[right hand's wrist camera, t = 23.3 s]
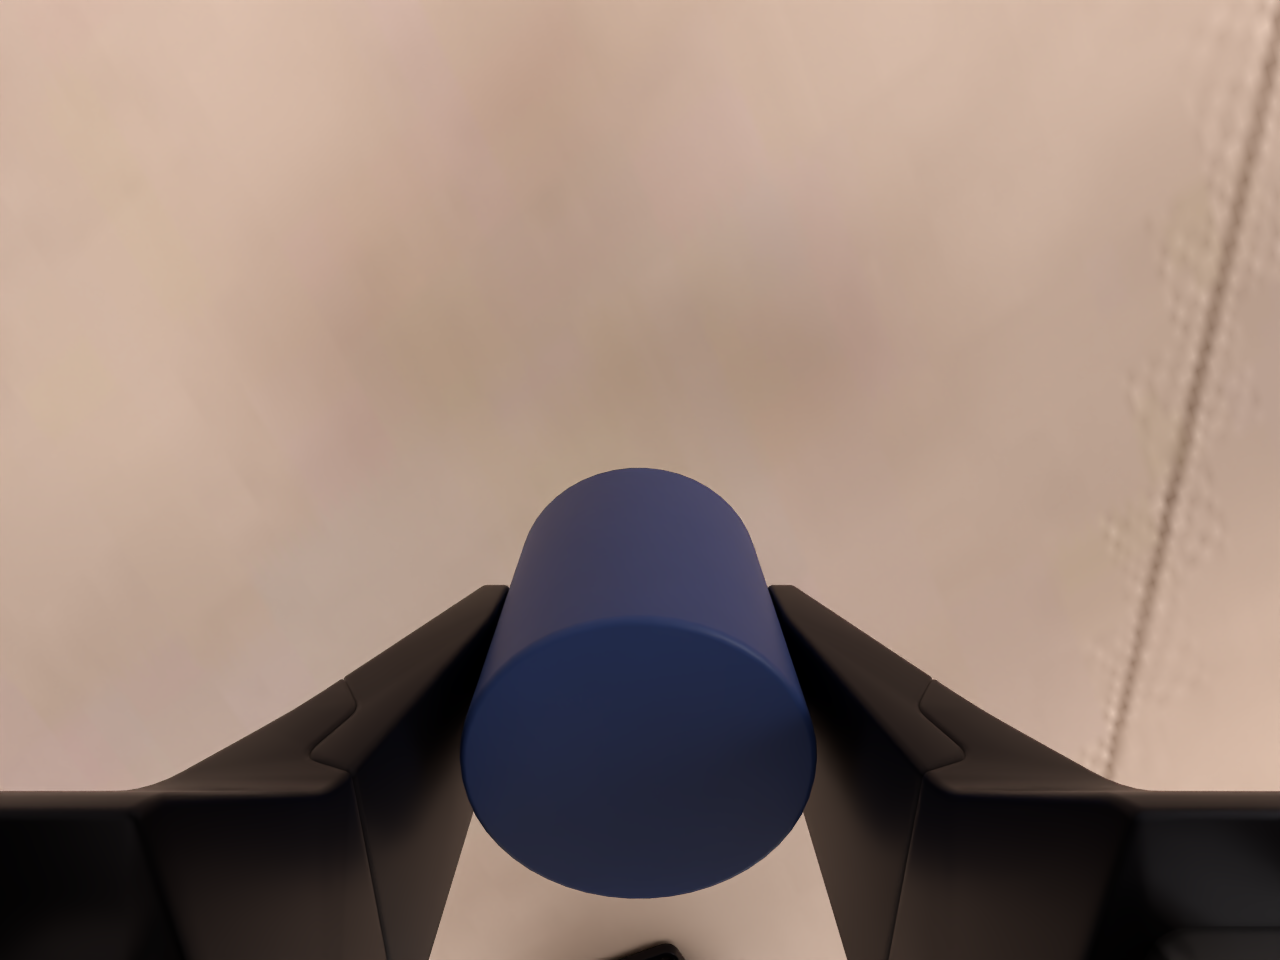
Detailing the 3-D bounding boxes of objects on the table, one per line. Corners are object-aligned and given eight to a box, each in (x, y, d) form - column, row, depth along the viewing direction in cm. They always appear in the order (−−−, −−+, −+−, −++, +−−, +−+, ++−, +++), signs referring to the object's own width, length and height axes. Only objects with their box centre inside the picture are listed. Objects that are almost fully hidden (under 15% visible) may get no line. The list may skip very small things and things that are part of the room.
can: (755, 458, 12) (824, 607, 7) (757, 667, 13) (816, 894, 9) (505, 473, 12) (427, 631, 7) (535, 680, 13) (486, 910, 9)
